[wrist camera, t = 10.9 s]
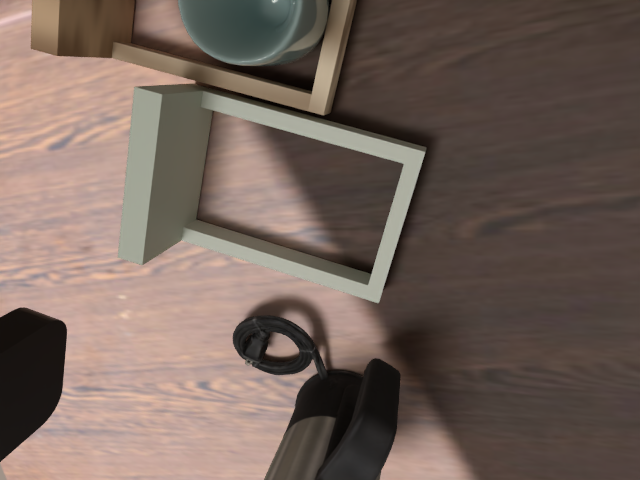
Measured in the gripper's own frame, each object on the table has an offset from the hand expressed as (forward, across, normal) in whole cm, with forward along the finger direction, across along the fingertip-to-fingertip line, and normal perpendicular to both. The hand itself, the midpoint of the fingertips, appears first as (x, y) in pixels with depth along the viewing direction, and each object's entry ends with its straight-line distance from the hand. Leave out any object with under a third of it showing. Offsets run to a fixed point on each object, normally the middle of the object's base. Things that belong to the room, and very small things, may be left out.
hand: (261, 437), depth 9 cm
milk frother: (+33, +2, +22) cm, 40 cm away
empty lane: (+33, +8, +5) cm, 34 cm away
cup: (+33, +11, -8) cm, 36 cm away
